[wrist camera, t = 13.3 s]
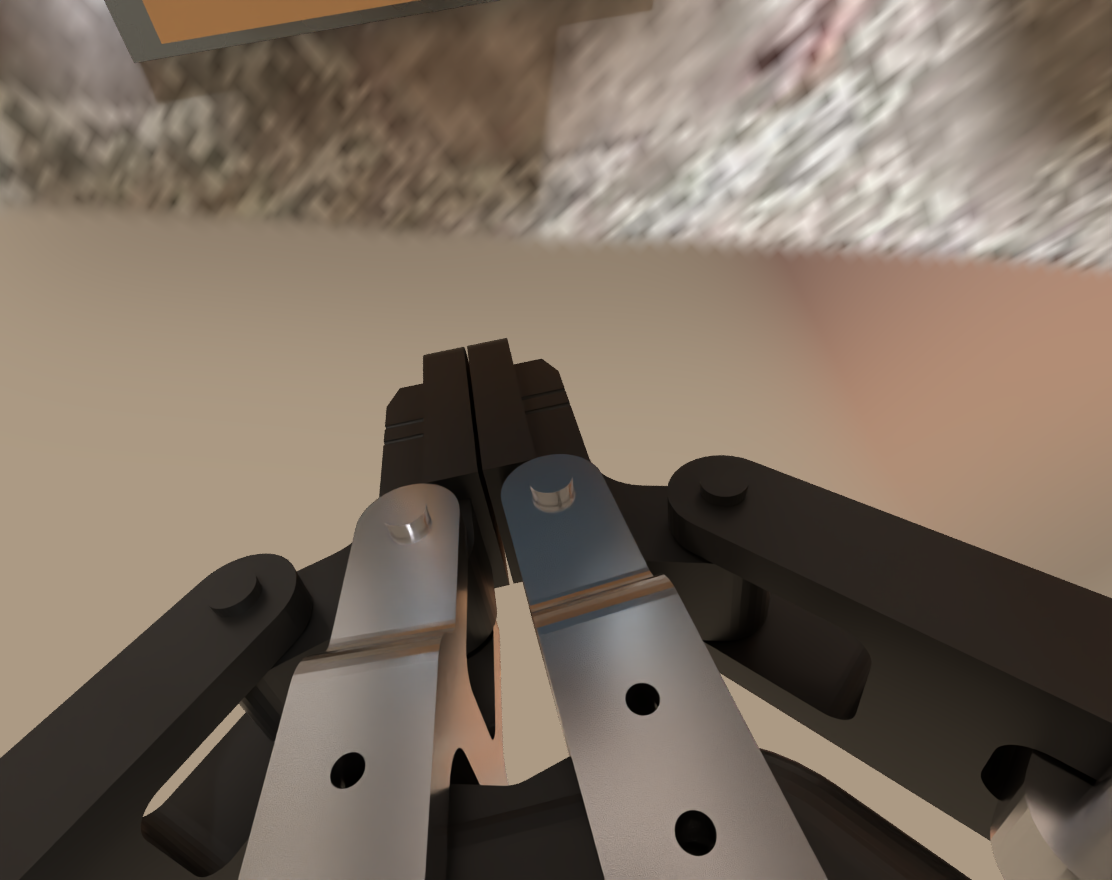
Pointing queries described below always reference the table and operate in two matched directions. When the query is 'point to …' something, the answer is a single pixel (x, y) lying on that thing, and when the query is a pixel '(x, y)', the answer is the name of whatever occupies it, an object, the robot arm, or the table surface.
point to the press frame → (147, 45)
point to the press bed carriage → (241, 14)
